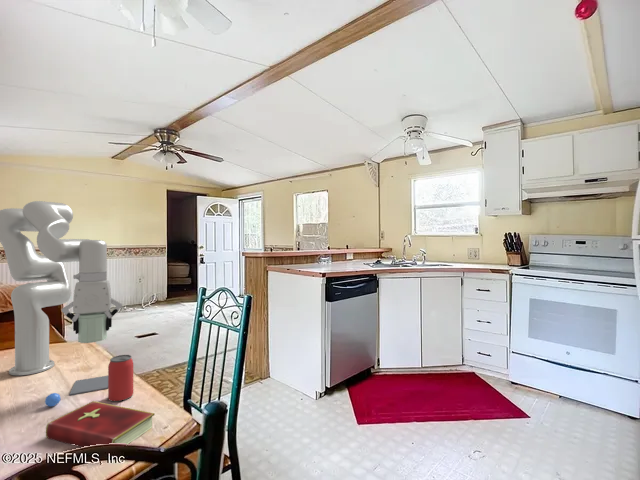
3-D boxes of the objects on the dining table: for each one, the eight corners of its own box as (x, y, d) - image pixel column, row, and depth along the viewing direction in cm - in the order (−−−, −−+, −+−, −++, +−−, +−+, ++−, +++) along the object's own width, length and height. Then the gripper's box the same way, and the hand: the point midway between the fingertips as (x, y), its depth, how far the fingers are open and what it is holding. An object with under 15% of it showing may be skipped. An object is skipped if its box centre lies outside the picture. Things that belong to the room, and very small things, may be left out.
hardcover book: (112, 458, 74) (112, 439, 74) (45, 440, 80) (45, 422, 80) (154, 428, 85) (154, 412, 85) (93, 415, 91) (93, 399, 91)
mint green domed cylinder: (80, 337, 111) (80, 312, 111) (107, 334, 114) (107, 310, 114) (76, 344, 104) (76, 317, 104) (105, 340, 108) (105, 314, 107)
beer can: (121, 403, 97) (121, 362, 97) (102, 401, 98) (102, 360, 98) (138, 393, 103) (138, 354, 103) (120, 391, 105) (120, 353, 105)
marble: (46, 404, 96) (46, 392, 96) (61, 401, 98) (61, 389, 98) (43, 410, 93) (43, 397, 93) (59, 407, 95) (59, 394, 95)
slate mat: (75, 381, 112) (75, 380, 112) (114, 375, 117) (114, 374, 117) (69, 395, 102) (69, 394, 102) (111, 388, 107) (111, 386, 107)
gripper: (57, 280, 102) (57, 337, 102) (123, 277, 110) (123, 330, 110) (62, 277, 108) (62, 331, 108) (124, 275, 116) (124, 325, 116)
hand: (93, 330), depth 109 cm, fingers closed on mint green domed cylinder, 7 cm apart
